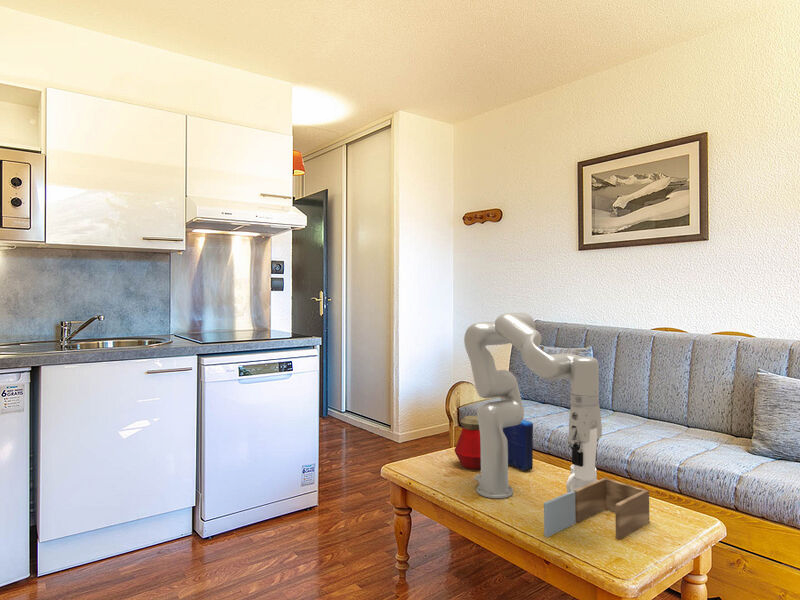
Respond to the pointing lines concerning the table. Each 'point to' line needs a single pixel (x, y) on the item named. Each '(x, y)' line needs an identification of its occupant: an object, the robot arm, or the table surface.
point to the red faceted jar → (469, 444)
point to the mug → (577, 481)
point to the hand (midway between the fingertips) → (584, 462)
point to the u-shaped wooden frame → (614, 504)
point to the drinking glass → (587, 458)
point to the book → (520, 445)
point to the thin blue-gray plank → (559, 513)
